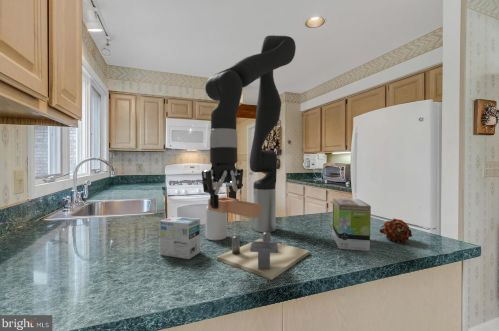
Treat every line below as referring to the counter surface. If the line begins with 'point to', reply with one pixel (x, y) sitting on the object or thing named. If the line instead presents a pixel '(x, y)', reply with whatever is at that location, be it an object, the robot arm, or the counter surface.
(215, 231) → the pill bottle
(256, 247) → the block
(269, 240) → the cylinder
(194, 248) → the light bulb box
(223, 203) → the link
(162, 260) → the counter surface
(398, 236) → the pine cone
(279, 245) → the board
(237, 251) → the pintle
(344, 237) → the tea box
